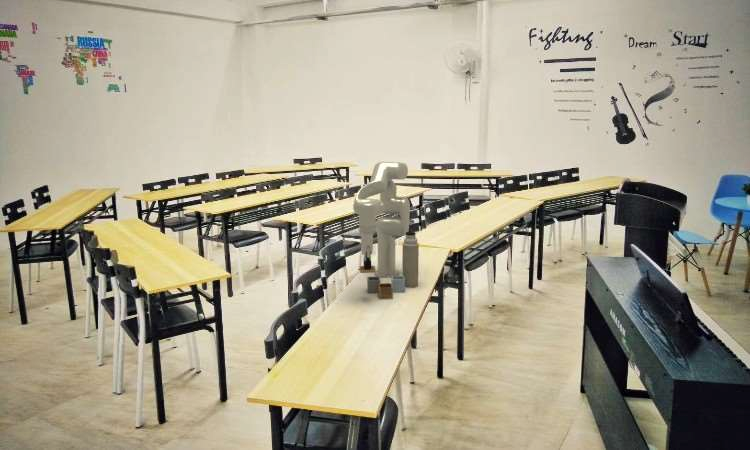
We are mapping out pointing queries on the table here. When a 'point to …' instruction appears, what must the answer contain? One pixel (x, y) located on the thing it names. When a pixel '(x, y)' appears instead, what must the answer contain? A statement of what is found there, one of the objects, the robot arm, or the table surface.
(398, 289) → the square blue-grey bin
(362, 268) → the lid
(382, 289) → the oak box
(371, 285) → the grey open storage bin
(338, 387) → the table surface
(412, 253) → the thermos bottle
